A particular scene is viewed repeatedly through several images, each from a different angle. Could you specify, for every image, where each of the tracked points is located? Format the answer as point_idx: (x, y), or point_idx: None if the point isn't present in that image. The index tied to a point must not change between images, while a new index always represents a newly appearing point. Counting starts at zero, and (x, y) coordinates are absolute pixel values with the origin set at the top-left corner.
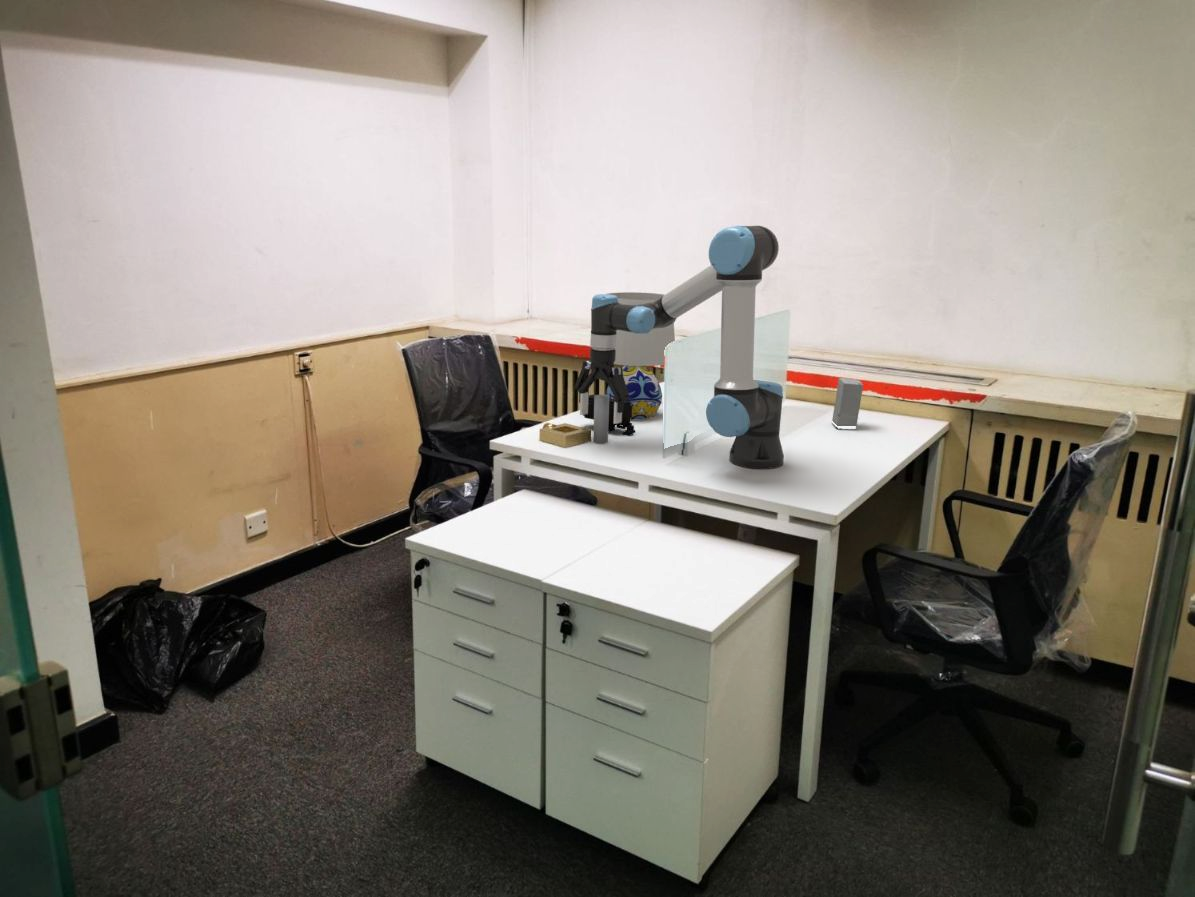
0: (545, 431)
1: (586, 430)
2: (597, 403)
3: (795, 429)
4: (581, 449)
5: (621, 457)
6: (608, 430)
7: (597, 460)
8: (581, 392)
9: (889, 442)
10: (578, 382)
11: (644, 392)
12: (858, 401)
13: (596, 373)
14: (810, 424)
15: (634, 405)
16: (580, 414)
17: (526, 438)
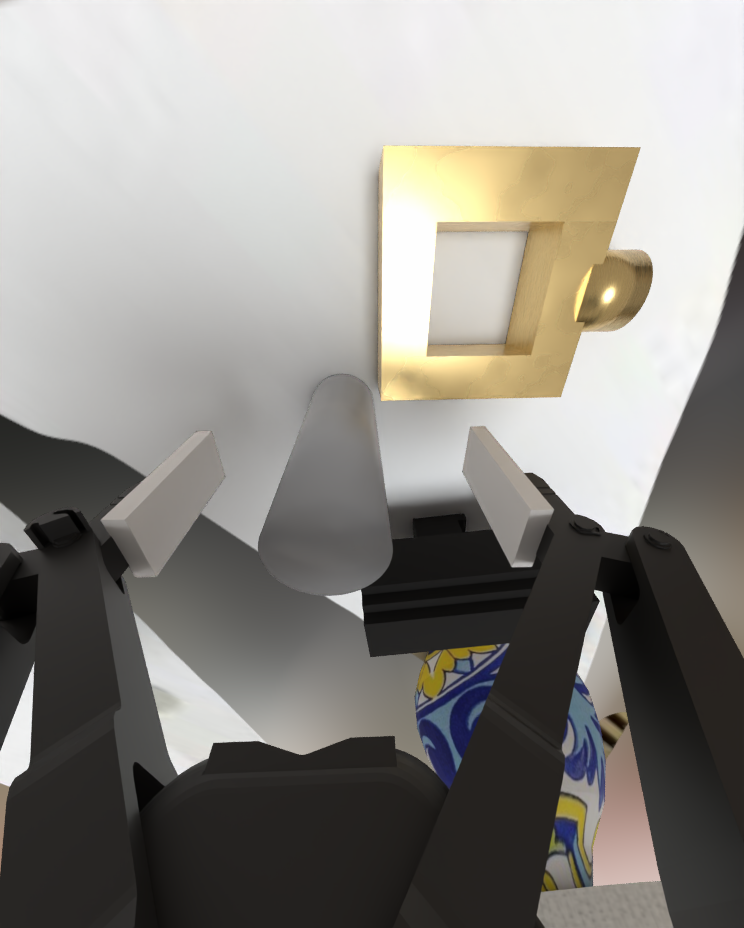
0: (578, 149)
1: (388, 371)
2: (315, 468)
3: (167, 742)
4: (298, 224)
5: (66, 276)
6: (423, 520)
7: (42, 88)
8: (557, 526)
9: (17, 768)
10: (673, 600)
11: (441, 734)
12: None
13: (384, 903)
14: (186, 763)
15: (450, 670)
16: (481, 426)
17: (679, 139)
